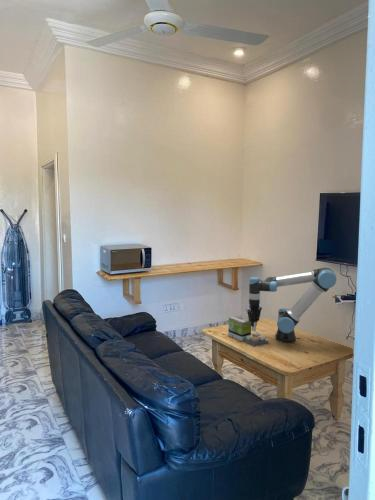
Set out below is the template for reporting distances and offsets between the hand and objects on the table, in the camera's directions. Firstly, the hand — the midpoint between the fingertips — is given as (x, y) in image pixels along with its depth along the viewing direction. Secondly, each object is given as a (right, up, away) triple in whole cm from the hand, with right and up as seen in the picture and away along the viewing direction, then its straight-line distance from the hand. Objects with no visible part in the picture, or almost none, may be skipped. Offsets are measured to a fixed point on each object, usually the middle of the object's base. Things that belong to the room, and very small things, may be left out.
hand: (253, 330), depth 280 cm
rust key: (0, -8, -3) cm, 9 cm away
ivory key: (+5, -8, 0) cm, 9 cm away
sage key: (-3, -8, +2) cm, 9 cm away
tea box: (-9, -8, +11) cm, 16 cm away
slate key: (+3, -7, +4) cm, 9 cm away
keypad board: (+1, -9, +1) cm, 9 cm away
